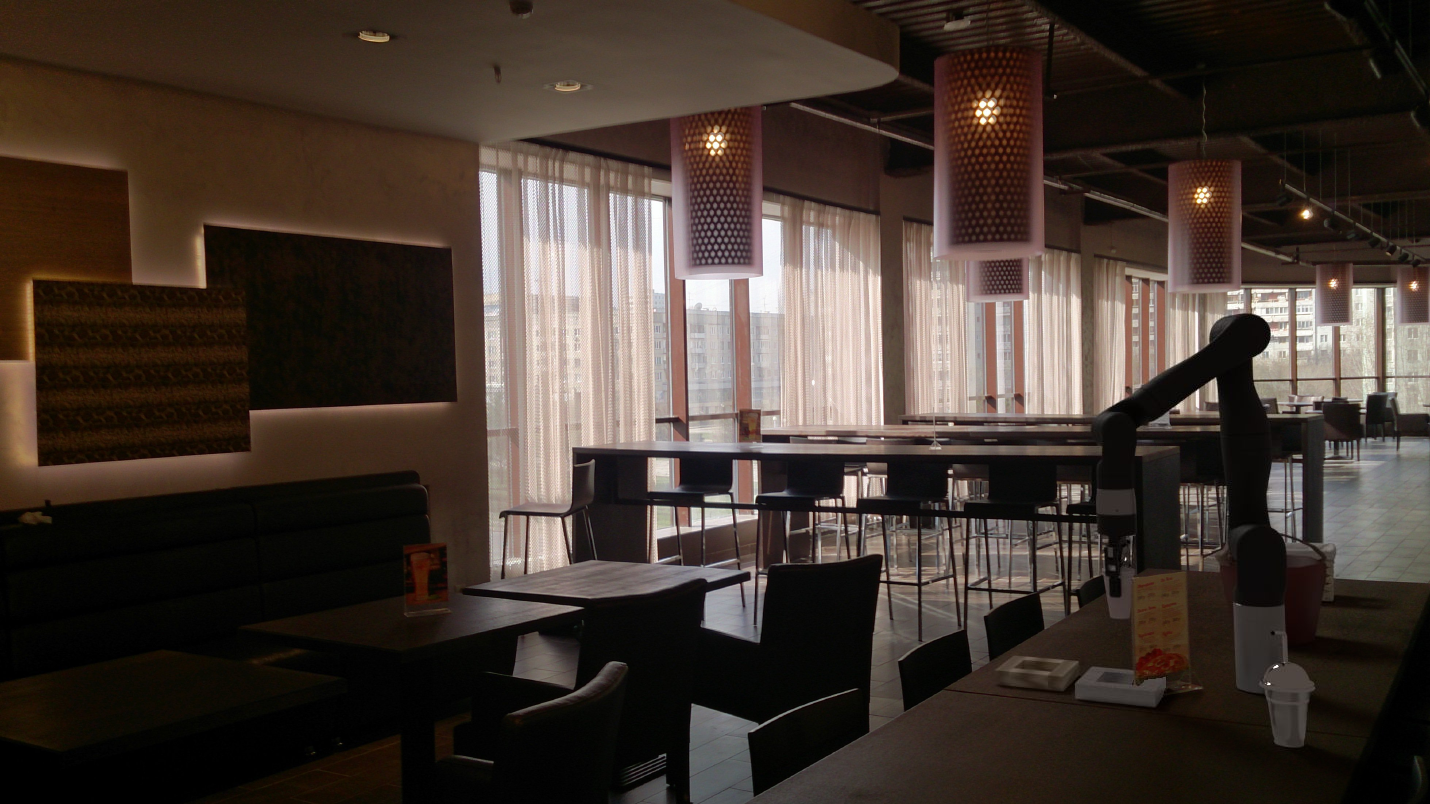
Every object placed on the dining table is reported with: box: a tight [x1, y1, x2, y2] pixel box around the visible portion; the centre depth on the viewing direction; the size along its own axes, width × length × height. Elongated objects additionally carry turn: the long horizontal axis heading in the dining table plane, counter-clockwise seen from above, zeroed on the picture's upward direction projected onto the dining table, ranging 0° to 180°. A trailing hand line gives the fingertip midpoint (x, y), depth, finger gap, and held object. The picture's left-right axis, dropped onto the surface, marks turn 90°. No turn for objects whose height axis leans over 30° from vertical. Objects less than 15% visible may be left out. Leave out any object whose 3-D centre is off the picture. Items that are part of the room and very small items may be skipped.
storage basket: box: [1285, 542, 1337, 602], centre depth 313 cm, size 24×16×15 cm
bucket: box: [1214, 532, 1327, 646], centre depth 265 cm, size 24×22×25 cm
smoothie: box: [1101, 567, 1136, 620], centre depth 222 cm, size 6×6×14 cm
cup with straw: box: [1259, 631, 1316, 748], centre depth 188 cm, size 8×9×20 cm
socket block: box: [994, 655, 1080, 692], centre depth 234 cm, size 14×14×3 cm
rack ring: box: [1074, 666, 1166, 708], centre depth 222 cm, size 15×15×3 cm
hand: (1119, 593), depth 222 cm, fingers closed on smoothie, 6 cm apart
